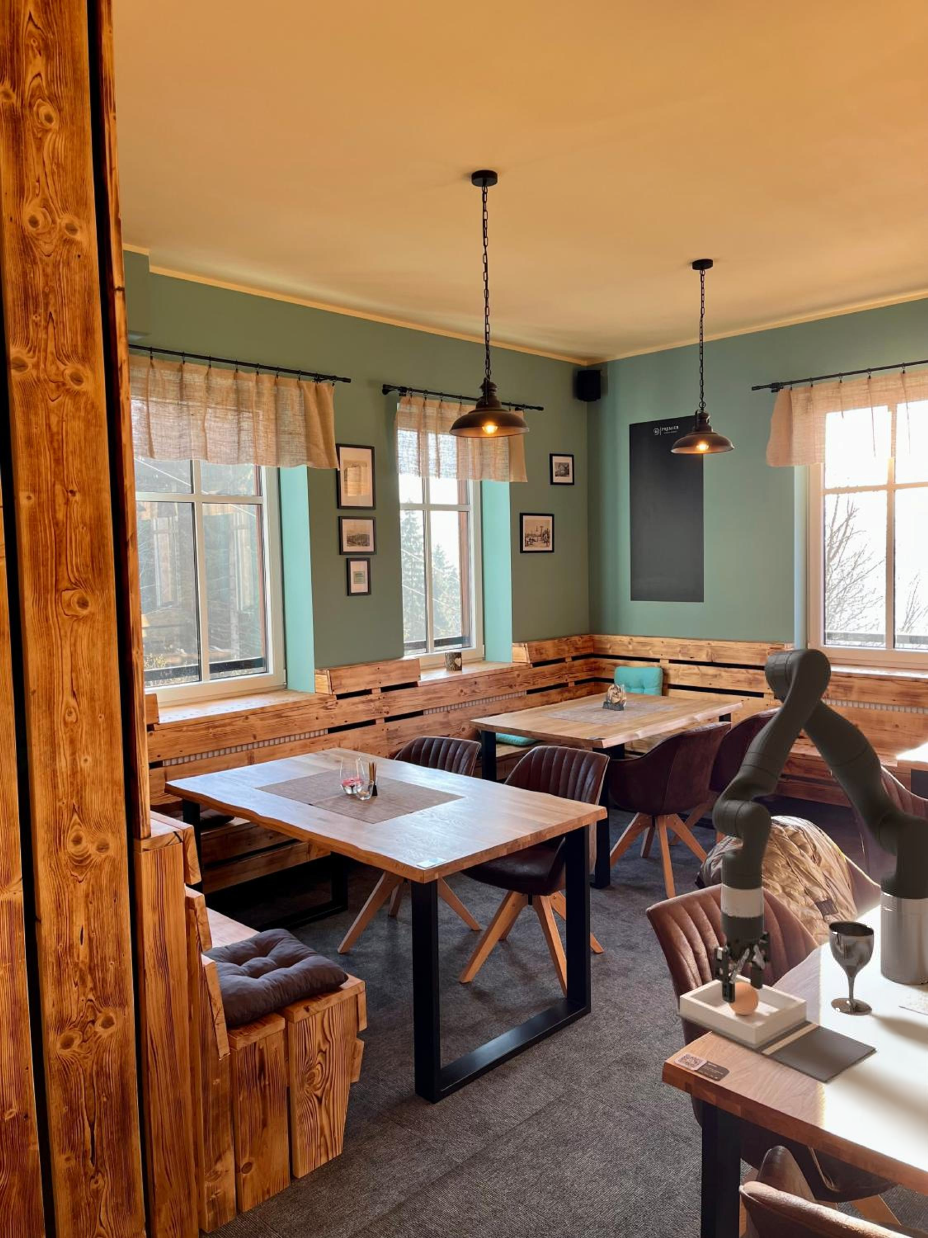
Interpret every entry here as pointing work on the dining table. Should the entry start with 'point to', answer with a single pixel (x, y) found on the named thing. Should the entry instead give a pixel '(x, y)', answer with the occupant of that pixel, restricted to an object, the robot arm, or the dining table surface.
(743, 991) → the ball
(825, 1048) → the mat
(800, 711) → the robot arm
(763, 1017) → the tray
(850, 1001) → the wine glass
